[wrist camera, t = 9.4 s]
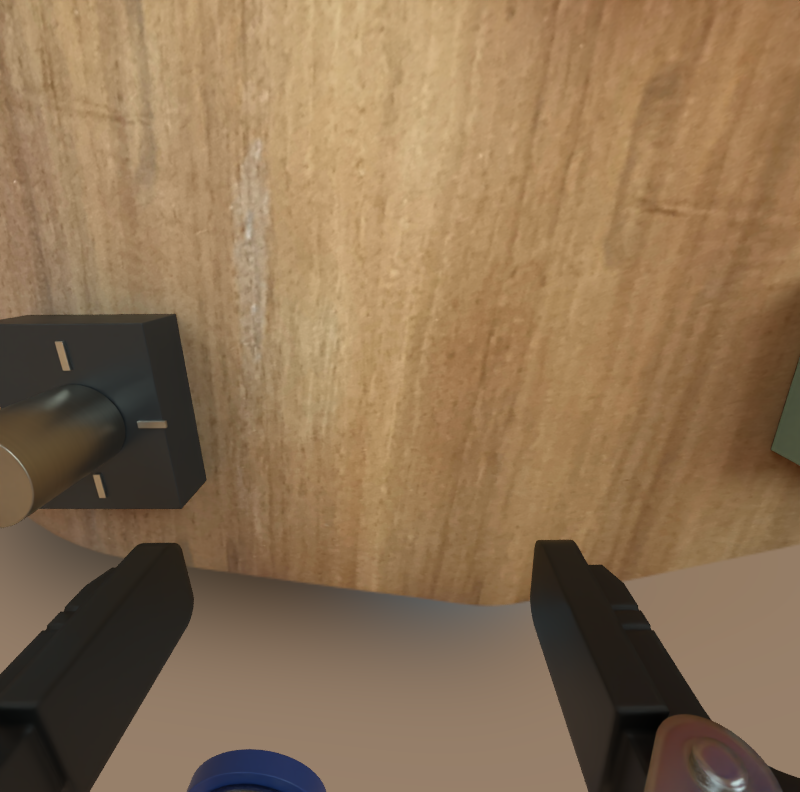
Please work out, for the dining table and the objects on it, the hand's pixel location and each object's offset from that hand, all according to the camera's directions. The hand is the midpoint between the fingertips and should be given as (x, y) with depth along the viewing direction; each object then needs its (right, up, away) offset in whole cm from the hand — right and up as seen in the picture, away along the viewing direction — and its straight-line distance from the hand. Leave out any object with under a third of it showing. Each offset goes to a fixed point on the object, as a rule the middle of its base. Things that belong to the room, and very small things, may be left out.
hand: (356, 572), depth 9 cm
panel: (-15, +4, +14) cm, 21 cm away
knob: (-15, +3, +11) cm, 19 cm away
